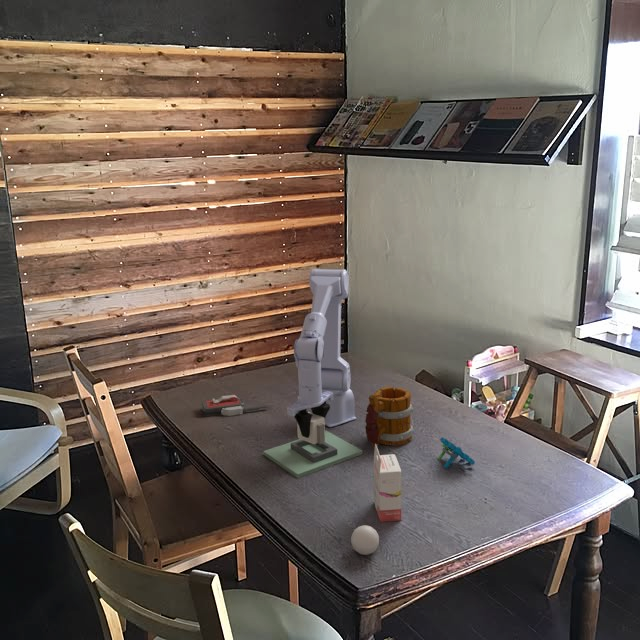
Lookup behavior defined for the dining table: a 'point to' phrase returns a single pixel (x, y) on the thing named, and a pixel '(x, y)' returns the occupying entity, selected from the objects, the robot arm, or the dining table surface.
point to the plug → (314, 430)
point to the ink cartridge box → (387, 486)
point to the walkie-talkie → (226, 406)
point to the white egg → (365, 540)
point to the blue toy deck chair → (455, 452)
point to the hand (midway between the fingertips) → (311, 433)
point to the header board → (312, 454)
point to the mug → (389, 417)
